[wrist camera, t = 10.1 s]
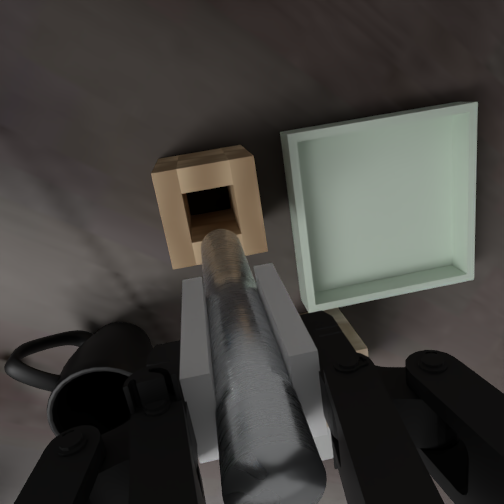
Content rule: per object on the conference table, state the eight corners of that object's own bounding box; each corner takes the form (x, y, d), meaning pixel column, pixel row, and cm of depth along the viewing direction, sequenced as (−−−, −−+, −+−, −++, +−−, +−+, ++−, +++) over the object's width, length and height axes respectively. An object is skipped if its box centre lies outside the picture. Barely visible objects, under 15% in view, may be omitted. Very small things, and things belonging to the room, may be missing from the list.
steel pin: (204, 270, 25) (231, 537, 10) (197, 232, 24) (213, 458, 9) (244, 262, 25) (330, 513, 10) (237, 225, 24) (321, 433, 9)
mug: (65, 272, 39) (29, 323, 30) (181, 334, 43) (180, 396, 34) (21, 343, 41) (-26, 411, 32) (137, 397, 44) (124, 472, 35)
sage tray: (300, 299, 43) (308, 313, 40) (279, 132, 38) (287, 134, 35) (455, 268, 44) (474, 279, 42) (456, 101, 39) (477, 101, 36)
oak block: (175, 237, 40) (173, 269, 32) (158, 158, 37) (151, 173, 30) (252, 223, 40) (267, 251, 33) (240, 144, 38) (253, 155, 30)
